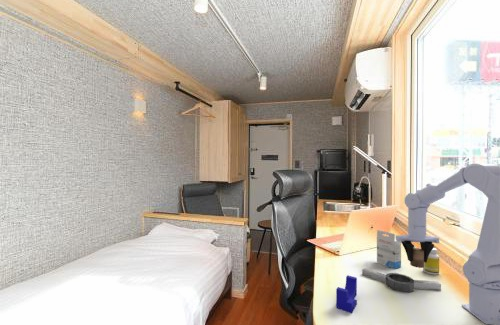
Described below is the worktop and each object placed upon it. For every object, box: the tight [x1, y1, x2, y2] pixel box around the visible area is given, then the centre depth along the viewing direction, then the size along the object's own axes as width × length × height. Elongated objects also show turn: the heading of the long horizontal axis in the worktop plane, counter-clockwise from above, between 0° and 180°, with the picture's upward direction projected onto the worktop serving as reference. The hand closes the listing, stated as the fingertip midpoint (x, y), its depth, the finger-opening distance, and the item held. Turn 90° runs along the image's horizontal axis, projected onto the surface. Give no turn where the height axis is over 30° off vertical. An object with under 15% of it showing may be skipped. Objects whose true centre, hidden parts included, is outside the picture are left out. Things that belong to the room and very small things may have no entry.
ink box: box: [376, 229, 402, 270], centre depth 111 cm, size 8×5×15 cm, turn 29°
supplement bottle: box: [422, 247, 440, 276], centre depth 104 cm, size 5×5×10 cm
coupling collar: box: [361, 267, 442, 294], centre depth 93 cm, size 14×23×3 cm, turn 84°
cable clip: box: [335, 274, 358, 314], centre depth 80 cm, size 12×4×6 cm, turn 144°
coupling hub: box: [409, 247, 424, 269], centre depth 96 cm, size 5×4×6 cm
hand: (417, 261), depth 96 cm, fingers closed on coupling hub, 4 cm apart
